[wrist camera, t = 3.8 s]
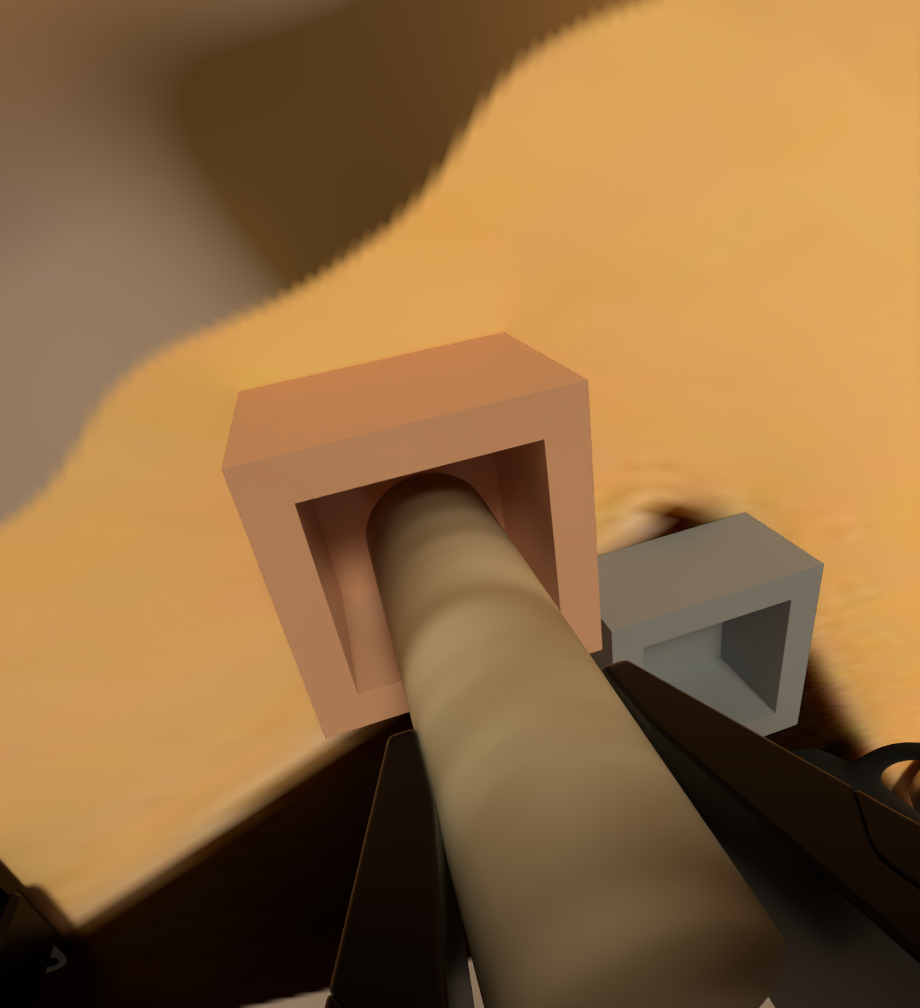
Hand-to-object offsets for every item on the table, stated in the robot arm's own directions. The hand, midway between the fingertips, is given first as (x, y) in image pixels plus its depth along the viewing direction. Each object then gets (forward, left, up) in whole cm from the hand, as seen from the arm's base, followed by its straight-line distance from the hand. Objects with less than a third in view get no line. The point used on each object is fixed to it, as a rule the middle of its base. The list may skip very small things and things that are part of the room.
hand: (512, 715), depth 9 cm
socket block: (+8, -8, -9) cm, 14 cm away
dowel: (0, 0, -6) cm, 6 cm away
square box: (0, 0, -9) cm, 9 cm away
